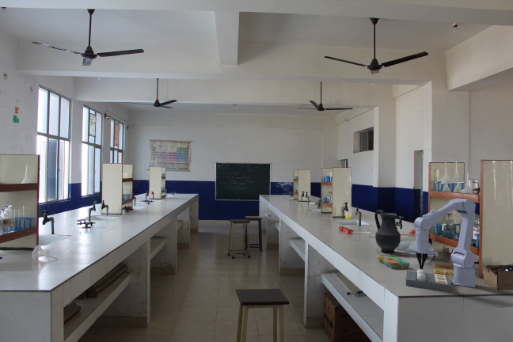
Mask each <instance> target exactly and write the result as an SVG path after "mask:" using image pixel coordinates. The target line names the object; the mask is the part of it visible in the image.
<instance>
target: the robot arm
mask: <svg viewBox="0 0 513 342" xmlns="http://www.w3.org/2000/svg"><path fill="white" fill-rule="evenodd" d="M476 206H477V205H476V203H475V202H474V200H472V198H471V199H470V198H458V197H454V198H453V199H451V200H449V202H448V203H446V204H445V205H443V206H442V207H440V208H439V209H437V210H436V209H431V210H430V211H429V212H428V213H425V214H423V215H422V216H421V217H420V216H419V217H417V218H416V219H415V220H414V222H413V226H414V228H415V233H416V234H415V248H406V249H405V253H406V254H415V256H416V259H417V262H418V265H419V269H421V270H424V266H425V263H426V261H427V259H428V258H429V257H428V256H433V257H438V256H439V251H436V250H435V251H433V250H429V238H430V236H429V234H430V232H429V231H430V230H431V229H432V227H433V225H434V224H436V223H439V222H440V221H441V220H442V217H443V216H446V215H447V214H449V213H451V212H453V211H456V212H457V213H458V214H459V215H460V216H461V223H460V231H459V236H458V241H457V246H456V247H455V248H454V249H453V251H452V253H451V255H450V262H451V263H452V266H453V279H452V280H451V282H452V284H453V286H462V287H469V288H476V285H475V284H476V271H475V268H473V266H474V264H475V258H474V252H472V250H471V244H472V238H473V233H474V228H475V227H474V226H475V225H474V224H475V221H476Z"/></svg>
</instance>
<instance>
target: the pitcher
mask: <svg viewBox="0 0 513 342" xmlns="http://www.w3.org/2000/svg"><path fill="white" fill-rule="evenodd" d="M378 215H380V218H381V223H380V220H379V217H378ZM397 218H398V214H397V213H394V212H392V213H391V212H385V211H384V210H382V209H378V210H376V211H375V212H374V221H375V225H376V228H377V231H376V232H375V238H374V239H375V242H376V245H377V246H378V247H379V248H380V252H381V253H382V252H383V253H382V254H387V253H391V255H392V253H394V254H396V252H395V250H396V249H397V248H399V246H400V244H401V233H400V231H399V229H398V227H397V224H396V219H397Z"/></svg>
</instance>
